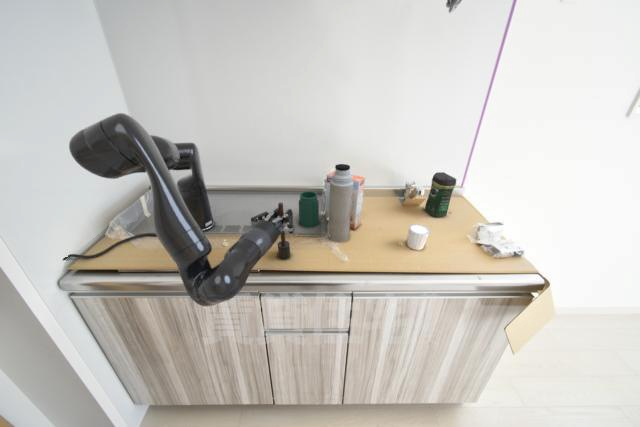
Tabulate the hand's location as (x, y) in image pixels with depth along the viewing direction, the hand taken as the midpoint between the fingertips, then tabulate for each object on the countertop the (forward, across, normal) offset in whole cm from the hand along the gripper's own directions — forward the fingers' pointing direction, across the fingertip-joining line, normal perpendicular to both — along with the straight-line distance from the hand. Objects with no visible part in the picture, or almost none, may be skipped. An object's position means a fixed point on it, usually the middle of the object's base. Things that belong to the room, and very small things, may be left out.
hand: (285, 210), depth 77 cm
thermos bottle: (+15, -15, +16) cm, 26 cm away
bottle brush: (-3, 0, +16) cm, 16 cm away
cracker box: (+25, -14, +16) cm, 33 cm away
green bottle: (+20, -1, +16) cm, 26 cm away
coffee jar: (+47, -53, +16) cm, 73 cm away
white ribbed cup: (+18, -43, +16) cm, 49 cm away
